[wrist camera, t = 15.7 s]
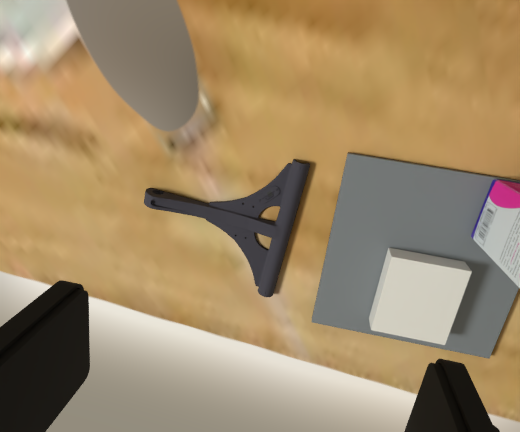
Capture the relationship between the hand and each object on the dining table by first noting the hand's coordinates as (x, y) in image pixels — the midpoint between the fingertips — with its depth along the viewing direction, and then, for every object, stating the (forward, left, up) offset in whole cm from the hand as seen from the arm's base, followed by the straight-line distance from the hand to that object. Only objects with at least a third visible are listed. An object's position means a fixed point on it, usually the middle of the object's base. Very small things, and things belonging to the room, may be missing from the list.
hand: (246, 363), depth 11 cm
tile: (+7, +13, -26) cm, 30 cm away
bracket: (+7, -7, -29) cm, 31 cm away
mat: (+8, +13, -28) cm, 32 cm away
